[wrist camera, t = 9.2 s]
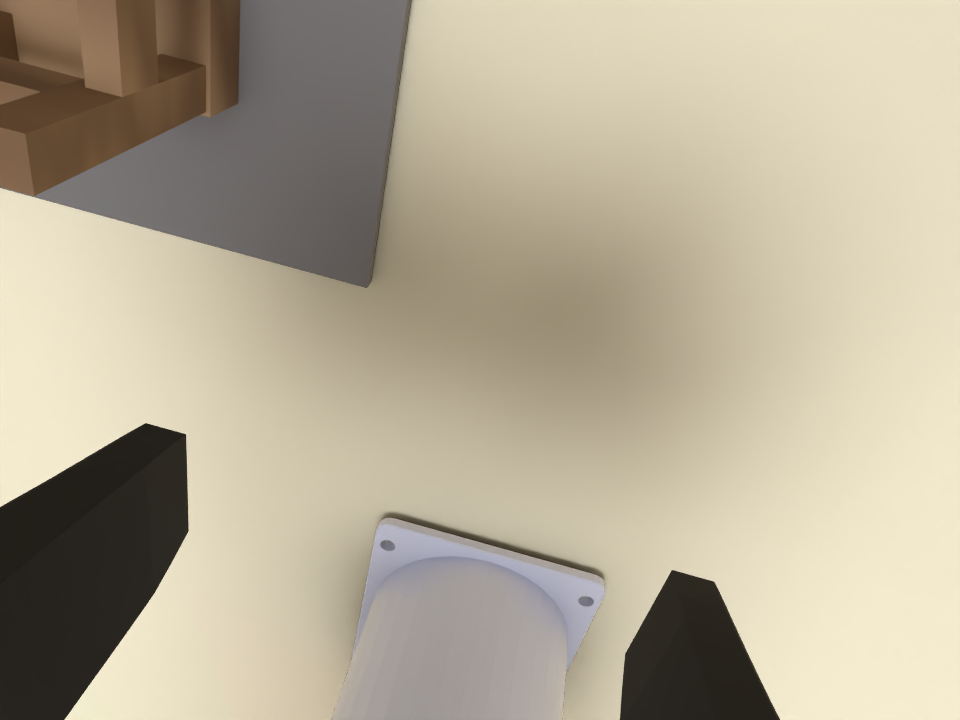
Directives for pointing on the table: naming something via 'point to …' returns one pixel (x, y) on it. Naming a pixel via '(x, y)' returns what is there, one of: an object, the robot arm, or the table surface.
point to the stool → (106, 79)
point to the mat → (276, 144)
